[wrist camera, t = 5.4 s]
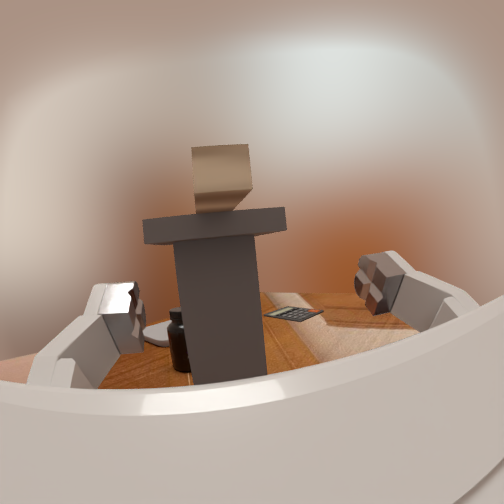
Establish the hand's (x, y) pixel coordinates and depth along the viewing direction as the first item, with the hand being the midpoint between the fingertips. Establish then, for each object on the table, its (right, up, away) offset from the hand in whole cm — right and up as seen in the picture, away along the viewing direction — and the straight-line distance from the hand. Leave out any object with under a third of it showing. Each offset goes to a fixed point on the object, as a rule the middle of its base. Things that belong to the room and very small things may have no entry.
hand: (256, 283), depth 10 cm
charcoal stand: (-2, -21, +21) cm, 30 cm away
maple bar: (-4, +4, +15) cm, 16 cm away
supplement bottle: (-13, -22, +43) cm, 50 cm away
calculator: (+13, -19, +76) cm, 80 cm away
